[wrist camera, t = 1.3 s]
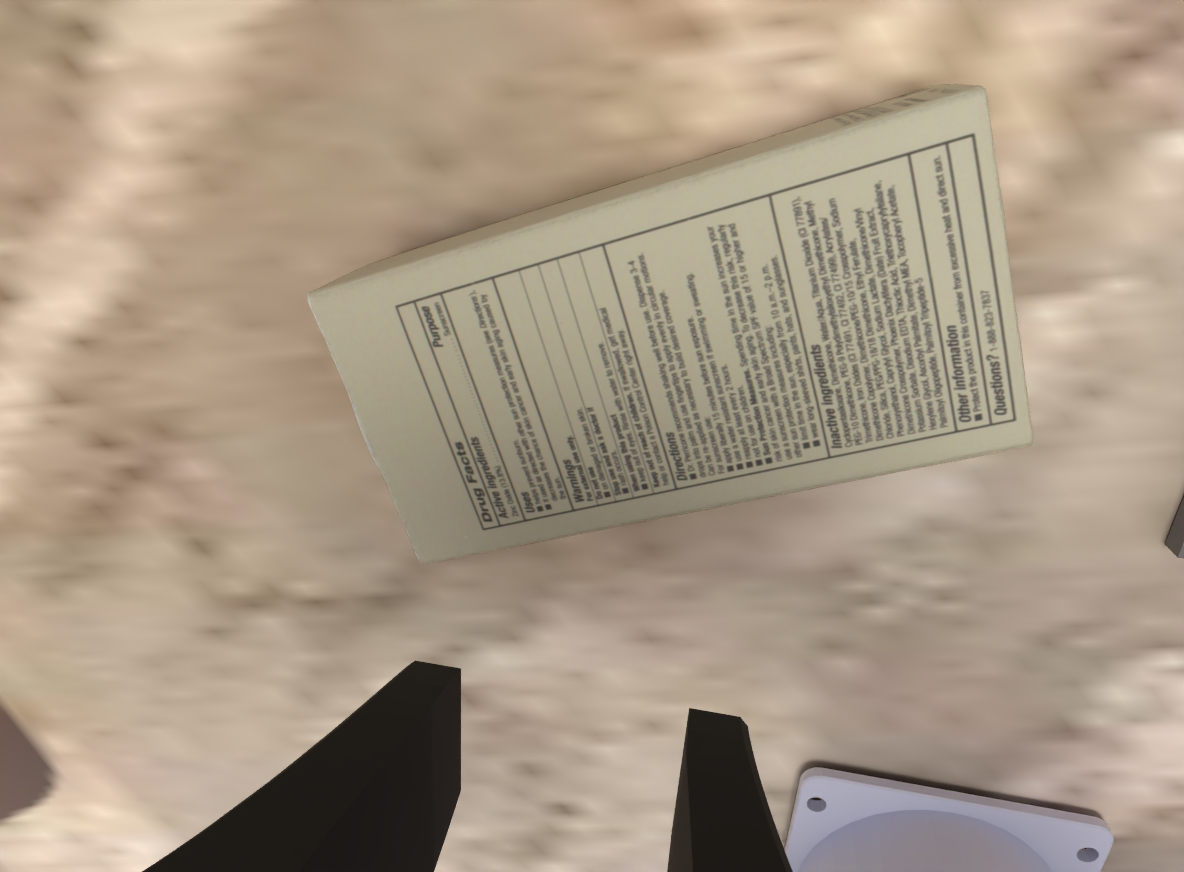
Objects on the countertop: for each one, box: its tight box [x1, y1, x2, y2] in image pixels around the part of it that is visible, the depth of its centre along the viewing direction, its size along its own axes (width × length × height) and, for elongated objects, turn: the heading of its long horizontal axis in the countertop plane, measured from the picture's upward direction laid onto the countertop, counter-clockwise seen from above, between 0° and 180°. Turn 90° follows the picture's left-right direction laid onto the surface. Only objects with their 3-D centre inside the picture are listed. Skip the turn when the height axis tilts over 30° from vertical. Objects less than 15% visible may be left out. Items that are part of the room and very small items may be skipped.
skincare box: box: [308, 84, 1033, 564], centre depth 16 cm, size 6×4×12 cm
